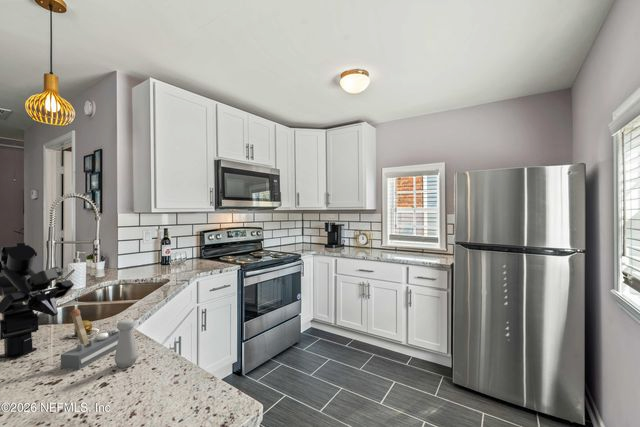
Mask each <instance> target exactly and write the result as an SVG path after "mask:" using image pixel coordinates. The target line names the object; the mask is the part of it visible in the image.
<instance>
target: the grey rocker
mask: <svg viewBox="0 0 640 427" xmlns="http://www.w3.org/2000/svg"><path fill="white" fill-rule="evenodd" d="M109 331H111V332H112V333H114V332H117V331H120V330H118V329H117V327H115V328H111V329H109V330H107V331H106V333H108V332H109Z"/></svg>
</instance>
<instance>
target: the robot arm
mask: <svg viewBox="0 0 640 427" xmlns="http://www.w3.org/2000/svg"><path fill="white" fill-rule="evenodd" d="M37 256H38V252H37V251H36V250H35V249H34V248H33V247H31V246H30V245H29V244H26V242H16V243H15V245H7V246H6V245H4V246H2V247H1V249H0V274H1V273H2V271H3V275H0V297H1V300H0V314H1V319H0V341H3V340H4V341H3V342H4V343H3V344H4V346H3V347H4V353H2V354H0V358H3V359H4V358H5V359H17V358H20V357H22V356H25V355H28V354H29V353H32V352H34V351H36V350H38V348H37V347H33V337H32V336H33V334H32V333H37V332H38V331H39V326H40V316H38V314H37V312H40V313H41V314H42V313H43V314H44V315H45V314H46V315H49V316H51V317H55V316H57V315H58V307H57V303H56V299H59V298H63V297H65V296H66V295H67V294H68V293H69V291H70V290H71V289H72V288H73V287H74V286H75V284H74V283H73V281H72V280H70V279H66V280H61V281H58V282H56V283H55V284H54V285H53V286H52V284H53V283H52V281H55V280H57V279H59V278H60V277H61V276H62V275H63V271H62V269H61V268H59V267H58V266H52V267H51V268H48V269H45V270H42V271H39V272H37V273H36V272H35V271H34V270H33V269H32V266H33V264H34V260H35V259H36V257H37ZM50 286H52V287H50ZM24 303H25V304H24Z"/></svg>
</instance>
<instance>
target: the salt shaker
mask: <svg viewBox="0 0 640 427" xmlns="http://www.w3.org/2000/svg"><path fill="white" fill-rule="evenodd" d="M134 327H135V320H133V318H126V319H122V320H119V321H118V322H117V324H116V328H117V329H118V330H119V331H120V333H119V338H118V343H117V348H116V349H115V353H114V357H113V358H114V359H113V360H114V363H115V364H116V366H117V368H120V369H125V368H129V367H132V366H134V364H136V361H137V358H138V355H139V353H138V348H137V344H136V343H137V342H136V339H135V334H134V331H133V328H134Z"/></svg>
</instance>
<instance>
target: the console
mask: <svg viewBox="0 0 640 427" xmlns="http://www.w3.org/2000/svg"><path fill="white" fill-rule="evenodd" d="M108 331H109V330H108ZM119 333H120V330H119V331H117V332H114V333H112V332H111V331H109V332H108V338H107V339H104V340H96V337H95V338H93V339H91V338H90V339H89V338H88V340H89V344H87V345H84V344H80V343H78V344H76V347H74V348H72V349H70V350H67V351H66V352H64V353H62V354H60V369H61V370H76V371H77V370H81V369H83V368H85V367H87V366H88V365H90V364H92V363H93V362H95V361H98V360H99V359H101V358H103V357H105V356H106V355H108V354H110V353H112V352H113V351H116V348H117V343H118V338H119Z"/></svg>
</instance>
